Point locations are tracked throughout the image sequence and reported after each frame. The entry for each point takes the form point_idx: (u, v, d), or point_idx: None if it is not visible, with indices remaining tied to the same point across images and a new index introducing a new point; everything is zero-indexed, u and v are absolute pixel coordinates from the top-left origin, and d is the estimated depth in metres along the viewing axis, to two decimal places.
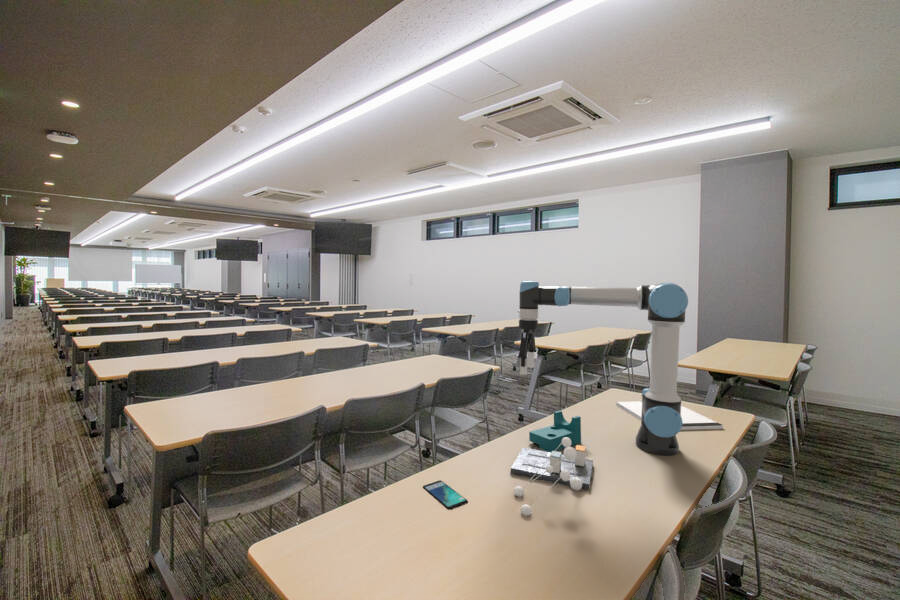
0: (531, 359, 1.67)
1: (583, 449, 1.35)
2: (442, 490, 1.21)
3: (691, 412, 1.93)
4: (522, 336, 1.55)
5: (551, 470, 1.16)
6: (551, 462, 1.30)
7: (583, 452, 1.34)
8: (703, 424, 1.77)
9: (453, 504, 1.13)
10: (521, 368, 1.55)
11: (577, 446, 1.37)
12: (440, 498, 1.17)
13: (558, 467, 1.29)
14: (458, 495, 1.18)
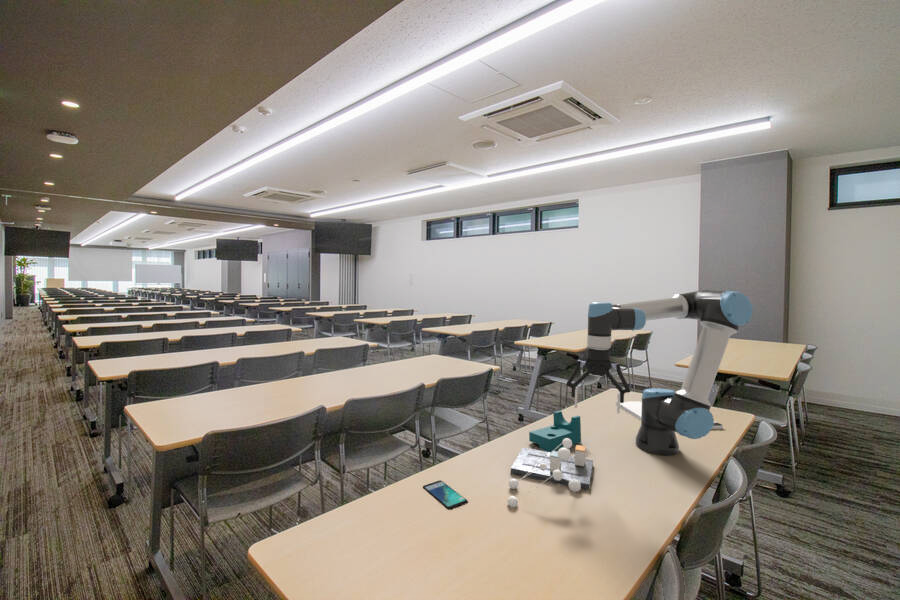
0: (617, 401, 1.32)
1: (583, 449, 1.35)
2: (442, 490, 1.21)
3: None
4: None
5: (544, 468, 1.17)
6: (551, 462, 1.30)
7: (583, 452, 1.34)
8: None
9: (453, 504, 1.13)
10: None
11: (577, 446, 1.37)
12: (440, 498, 1.17)
13: None
14: (458, 495, 1.18)
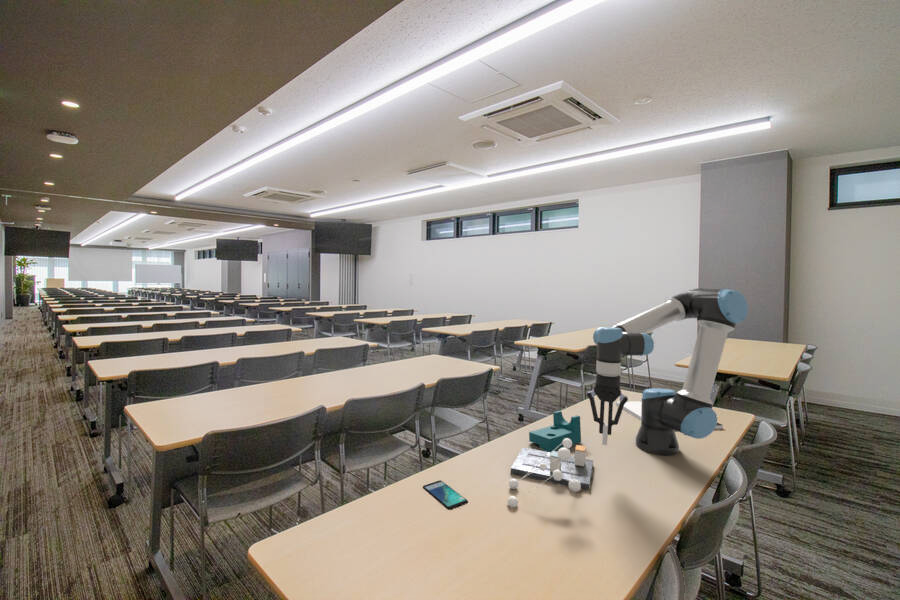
0: None
1: (583, 449, 1.35)
2: (442, 490, 1.21)
3: None
4: None
5: (544, 468, 1.17)
6: (551, 462, 1.30)
7: (583, 452, 1.34)
8: None
9: (453, 504, 1.13)
10: None
11: (577, 446, 1.37)
12: (440, 497, 1.17)
13: None
14: (458, 495, 1.18)
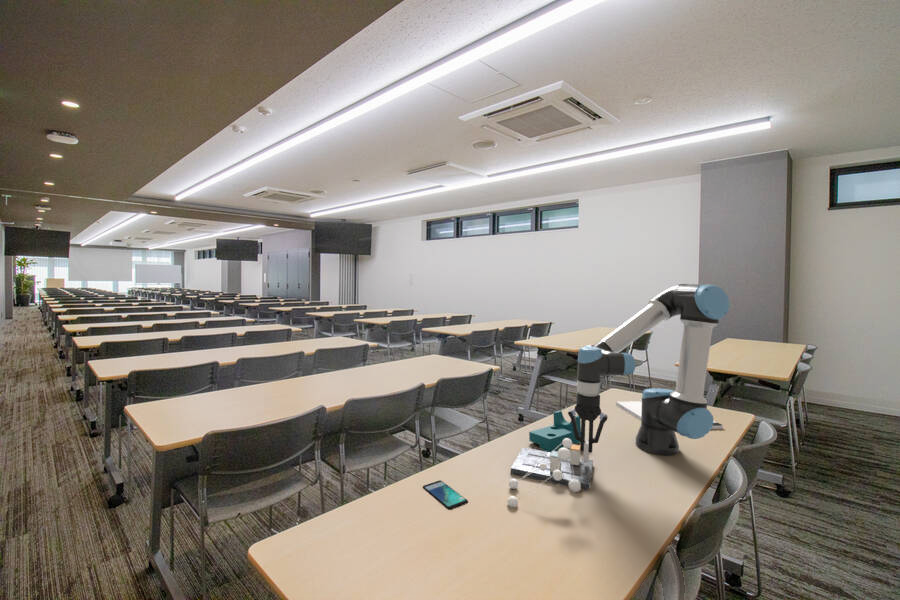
0: None
1: (578, 448, 1.35)
2: (442, 490, 1.21)
3: None
4: None
5: (544, 468, 1.17)
6: (551, 462, 1.30)
7: (578, 451, 1.34)
8: None
9: (453, 504, 1.13)
10: None
11: (572, 445, 1.38)
12: (440, 497, 1.17)
13: None
14: (458, 495, 1.18)
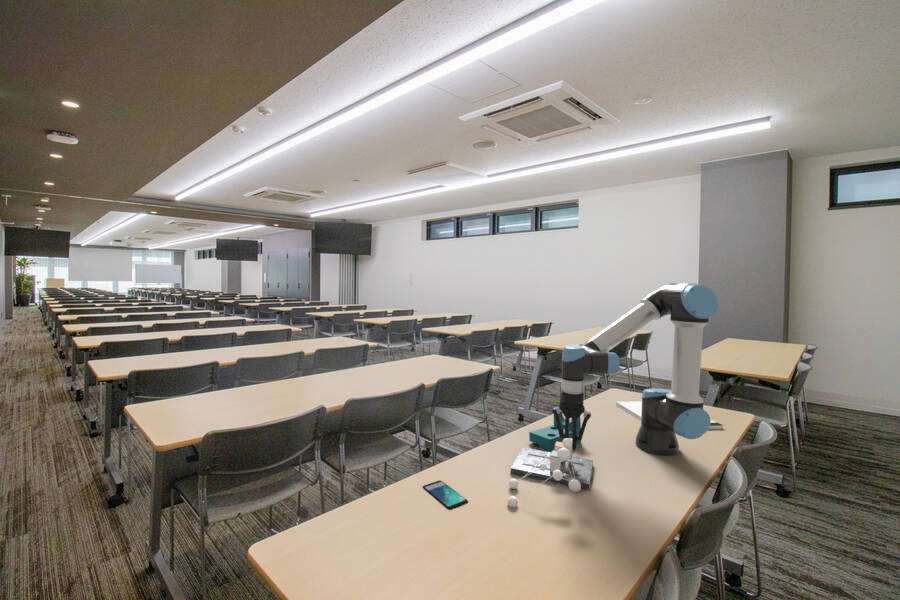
0: (570, 448, 1.37)
1: (562, 445, 1.37)
2: (442, 490, 1.21)
3: None
4: None
5: (544, 468, 1.17)
6: (551, 462, 1.30)
7: None
8: None
9: (453, 504, 1.13)
10: None
11: (557, 442, 1.40)
12: (440, 497, 1.17)
13: None
14: (458, 495, 1.18)
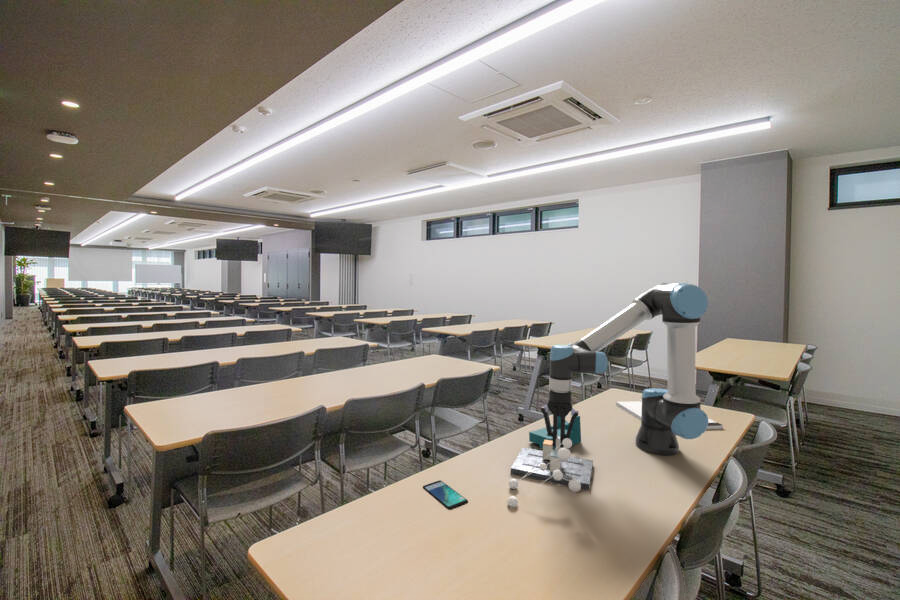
0: None
1: (550, 443, 1.39)
2: (442, 490, 1.21)
3: None
4: None
5: (544, 468, 1.17)
6: (551, 462, 1.30)
7: (550, 446, 1.38)
8: None
9: (453, 504, 1.13)
10: None
11: (545, 440, 1.41)
12: (440, 498, 1.17)
13: None
14: (458, 495, 1.18)
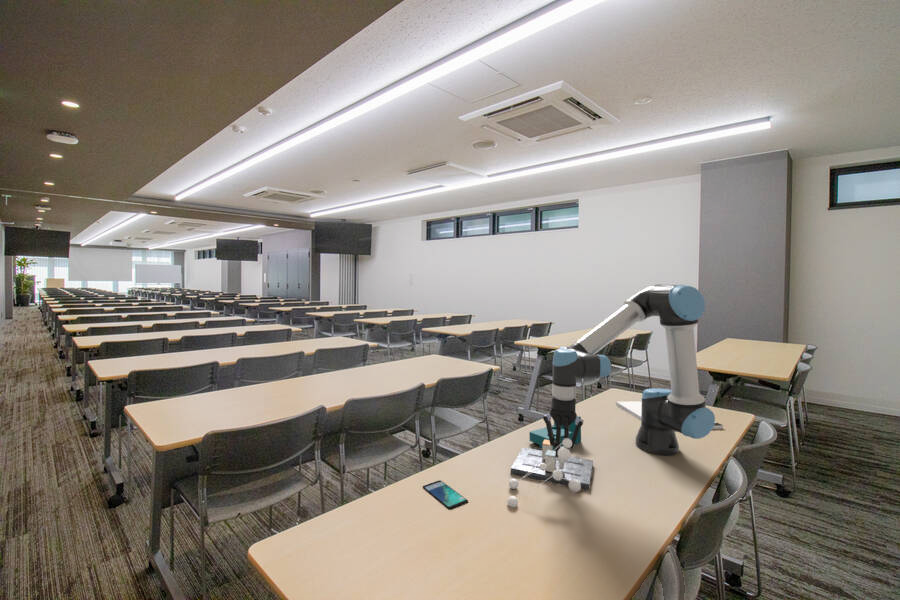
0: None
1: None
2: (442, 490, 1.21)
3: None
4: None
5: (544, 468, 1.17)
6: (546, 461, 1.30)
7: (550, 446, 1.38)
8: None
9: (453, 504, 1.13)
10: None
11: (545, 440, 1.41)
12: (440, 498, 1.17)
13: (553, 466, 1.29)
14: (458, 495, 1.18)
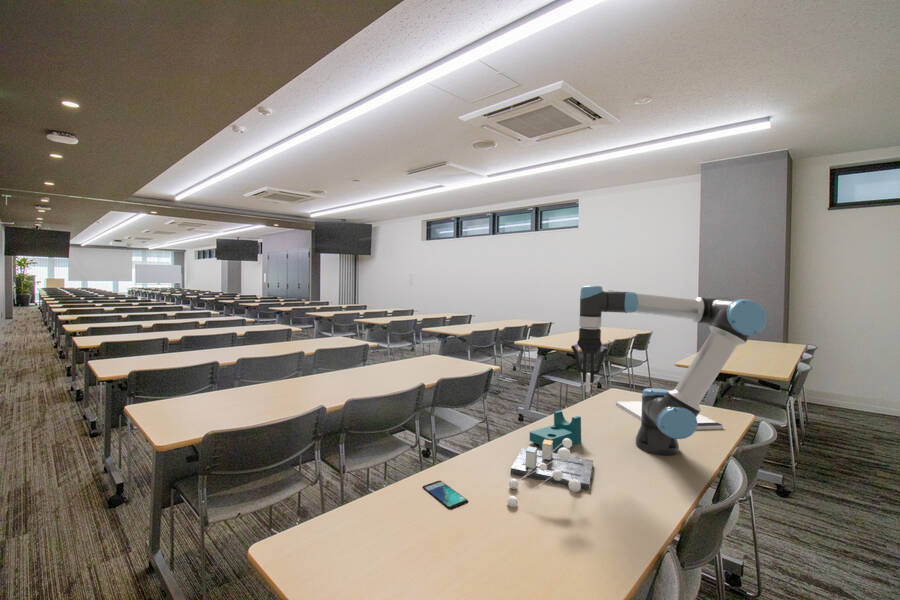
0: None
1: (550, 443, 1.39)
2: (442, 490, 1.21)
3: None
4: None
5: (544, 468, 1.17)
6: (526, 457, 1.33)
7: (550, 446, 1.38)
8: (703, 424, 1.77)
9: (453, 504, 1.13)
10: None
11: (545, 440, 1.41)
12: (440, 498, 1.17)
13: (533, 462, 1.32)
14: (458, 495, 1.18)
